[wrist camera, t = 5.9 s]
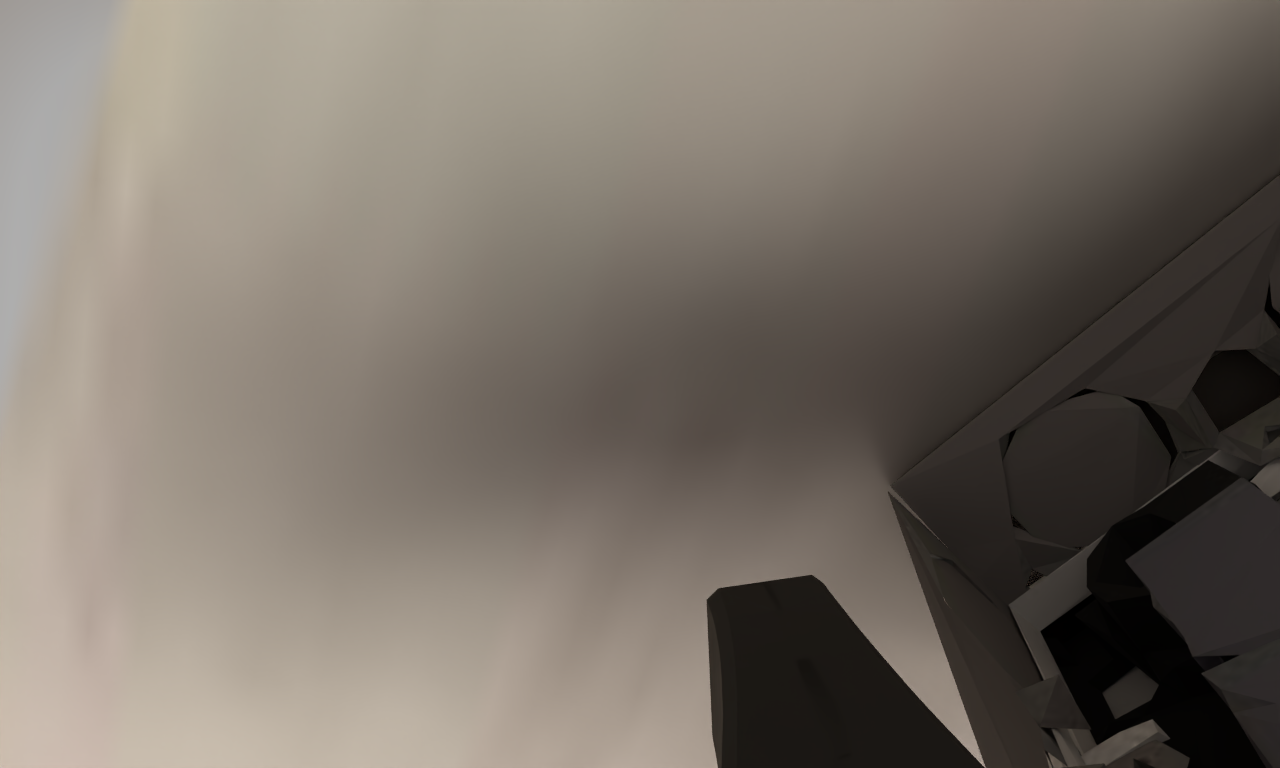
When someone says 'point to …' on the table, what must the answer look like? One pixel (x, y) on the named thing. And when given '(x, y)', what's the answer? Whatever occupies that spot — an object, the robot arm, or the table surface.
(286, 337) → the table surface
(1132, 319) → the electrical switch
